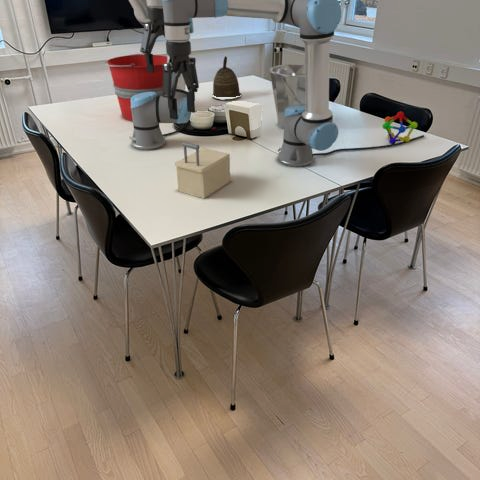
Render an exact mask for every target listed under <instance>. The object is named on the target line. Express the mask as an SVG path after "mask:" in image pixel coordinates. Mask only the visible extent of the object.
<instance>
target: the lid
mask: <svg viewBox="0 0 480 480" xmlns="http://www.w3.org/2000/svg"><path fill="white" fill-rule="evenodd" d="M182 147H183V157H184V158H182V159H180V160H177V161H176V162H174V166H175V167H176V166H177V167H181V168H185V169H188V170H192V171H196V172H200V173H202V172H204V171H206V170H208V169H209V168H211V167H213V166H214V165H216V164H218V163H220V162H221V161H223V160H225V159H227V158H228V157H230V158H231V154H230V153H228V152H224V151H219V150H215V149H212V148H206V147H203V148H201V149H200V144H194V143H191V142H186V141H183V142H182ZM187 148H189V149H192V150H195V152H193V153H191V154H190V155H188V152H187V151H188V150H187ZM177 167H176V168H177Z"/></svg>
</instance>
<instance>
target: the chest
mask: <svg viewBox="0 0 480 480" xmlns="http://www.w3.org/2000/svg"><path fill="white" fill-rule="evenodd" d="M230 160H231V156H230V157H228V158H227V159H225V160H223V161H221V162H220V163H218V164H216V165H214V166H213V167H211V168H209V169H208V170H206V171H204V172H202V173H200V172H196V171H192V170H188V169H185V168H181V167H177V166H175V167H176V180H177V191H178V192H181V193H184V194H188V195H191V196H194V197H197V198H201V199H206V198H207V197H209V196H210V195H212V194H213V193H215V192H216V191H218V190H220V189H221V188H223V187H224V186H226V185H227V184H229V183H230V182H231V161H230Z"/></svg>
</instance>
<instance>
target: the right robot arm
mask: <svg viewBox="0 0 480 480" xmlns="http://www.w3.org/2000/svg"><path fill="white" fill-rule="evenodd" d="M162 2H163V13H164V24H165V25H164V28H165V37H164V39H165V40H166V41H165V52H166V55H167V54H168V55H169V62H168V63H163V64H162V67H163V90H162V96H163V97H165V98H167V99H168V108H169V113H170V118H171V119H176V120H177V119H178V112H177V99H176V98H175V93H176V88H177V83H178V78H179V77H180V75H181V74H182V75H183V78H184V81H185V87H186V89H187V90H186V91H187V92H186V96H187V112H191V114H192V113H193V114H194V113H196V103H195V101H196V93H198V91H199V90H198V89H199V88H200V85H199V79H198V72H197V66H196V61H197V59H196V57H190V55H191V54H192V43H191V41H190V39H191V33H190V22H189V20H190V18H192V19H202V18H204V19H205V18H215V19H216V18H223V17H235V18H236V17H237V18H250V19H251V18H252V19H264V20H265V19H267V20H272V21H273V22H274V23H277V24H278V23H279V24H285V25H289V26H292V27H294V28H299V39H300V40H301V41H302V42H303V43H304V65H305V96H306V106H292V107H288V108H287V109H286V110H285V116H284V118H285V119H284V128H283V138H282V139H283V141H282V145H281V147H279V148H278V149H277V152H278V155H277V161H278V162H279V164H281V165H284V166H287V167H292V168H304V167H309V166H311V165H312V164H313V163H314V159H315V157H317V156H328V155H331V154H334V153H337V152H344V151H345V152H348V151H363V150H374V149H375V150H376V149H384V148H391V147H395V146H400V145H404V144H406V143H409V142H413V141H416V140H419V139H422V138H424V137H425V135H424V134H422V135H419V136H416V137H413V138H410V140H409V142H406V141H399V142H396V143H395V144H390V143H389V144H385V145H378V146H366V147H364V146H363V147H352V148H350V147H349V148H338V149H333V150H331V151H327V152H323V151H325V150H328V149H330V148H331V147H332V146H333V145H334V144H335V143H336V141H337V139H338V136H339V127H338V126H337V125H336V123H335V122H334V121H333V119H334V115H333V111H332V110H331V109H330V46H331V45H330V42H331V40H332V39H333V38H334V36H335V30H336V29H337V28H338V25H339V24H340V23H341V20H342V7H341V4H340V1H339V0H162ZM173 72H174V73H173ZM166 93H167V94H166ZM313 150H316V151H319V152H315V153H313ZM314 156H315V157H314Z"/></svg>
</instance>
